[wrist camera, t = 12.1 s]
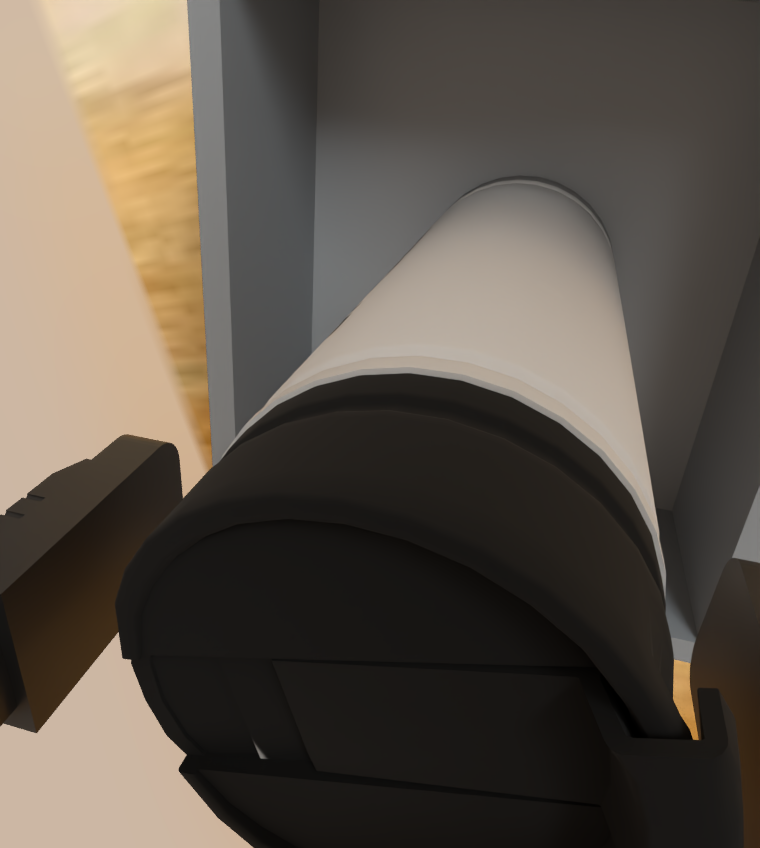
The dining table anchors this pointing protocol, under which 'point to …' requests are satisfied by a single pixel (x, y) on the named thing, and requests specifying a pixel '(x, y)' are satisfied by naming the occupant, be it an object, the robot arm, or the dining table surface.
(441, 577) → the travel mug
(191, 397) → the dining table surface
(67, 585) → the robot arm
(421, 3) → the crate
